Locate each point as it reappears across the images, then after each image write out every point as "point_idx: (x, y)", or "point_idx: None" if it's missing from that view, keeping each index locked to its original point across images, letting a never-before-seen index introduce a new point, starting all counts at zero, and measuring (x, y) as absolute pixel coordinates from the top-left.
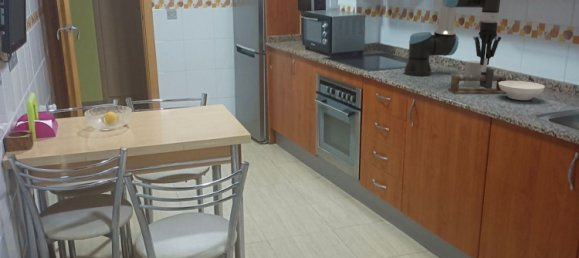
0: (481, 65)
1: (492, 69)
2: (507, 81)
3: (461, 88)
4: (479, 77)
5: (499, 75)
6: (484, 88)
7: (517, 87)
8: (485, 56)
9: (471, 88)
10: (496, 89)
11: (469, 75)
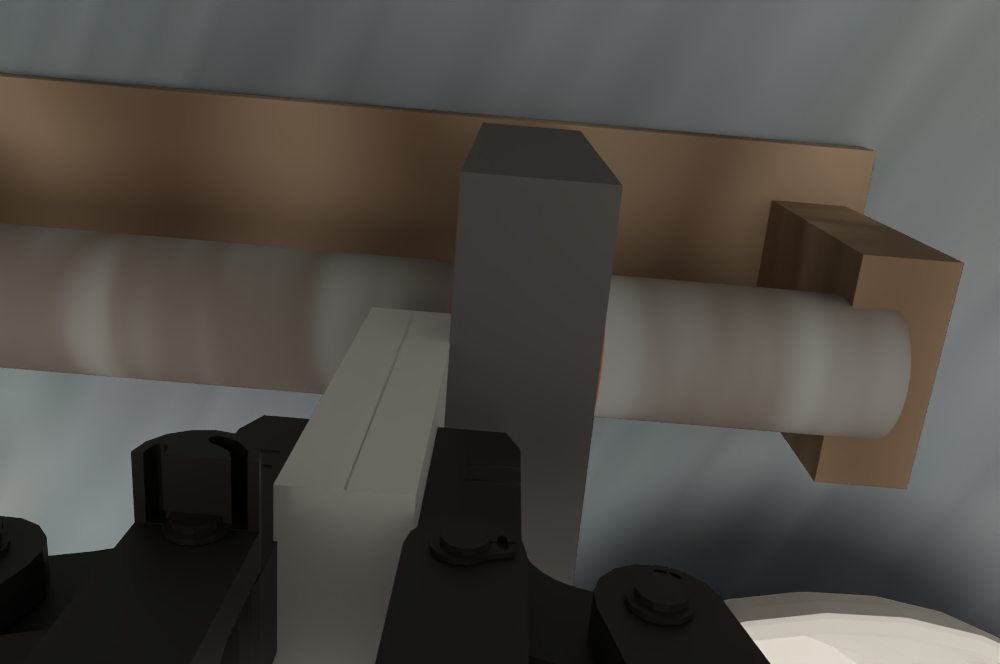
0: (339, 373)
1: (568, 580)
2: (780, 635)
3: (141, 88)
4: (312, 392)
5: (809, 421)
6: (586, 129)
7: (901, 640)
8: (402, 551)
9: (334, 107)
10: (755, 240)
11: (65, 357)
